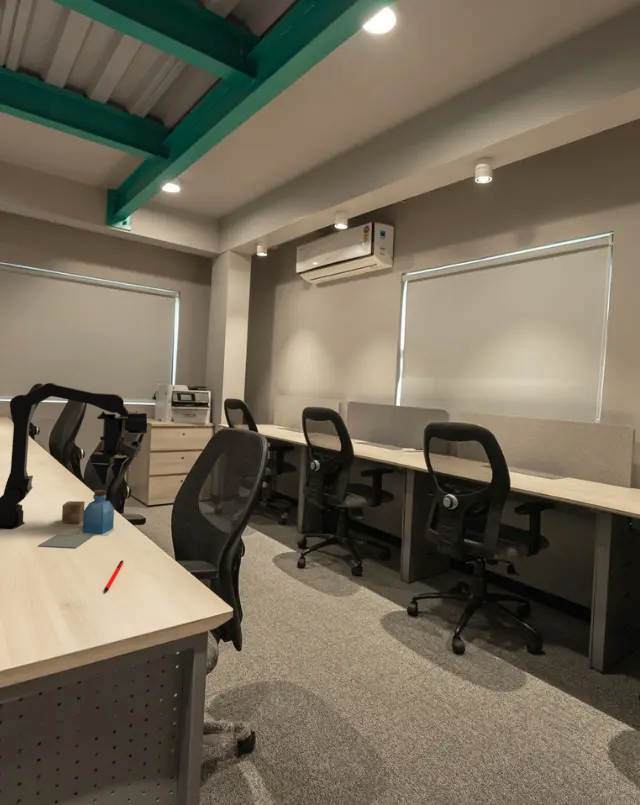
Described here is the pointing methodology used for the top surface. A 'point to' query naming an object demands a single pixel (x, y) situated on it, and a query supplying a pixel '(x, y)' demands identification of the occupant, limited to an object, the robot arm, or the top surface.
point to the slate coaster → (65, 541)
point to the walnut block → (73, 512)
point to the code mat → (96, 534)
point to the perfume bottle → (98, 515)
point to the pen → (113, 576)
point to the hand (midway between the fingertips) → (110, 481)
